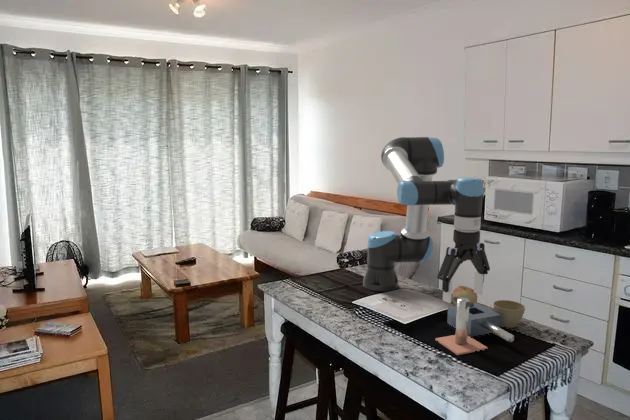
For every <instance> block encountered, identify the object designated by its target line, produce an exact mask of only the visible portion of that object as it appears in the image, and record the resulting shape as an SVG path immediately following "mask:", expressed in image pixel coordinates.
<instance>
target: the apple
mask: <svg viewBox="0 0 630 420" xmlns="http://www.w3.org/2000/svg"><path fill="white" fill-rule="evenodd" d="M455 296H457V297H459V298H467V299H469V300H470V302H472V303H478V294H477V293H474V288H471V287H468V286H465V285H459V286H457V287H455V288H454V290H452V297H451V299H453V297H455ZM452 301H453V300H452ZM453 304H454V306H457V302H455V301H453Z"/></svg>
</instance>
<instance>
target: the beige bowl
mask: <svg viewBox="0 0 630 420" xmlns="http://www.w3.org/2000/svg"><path fill="white" fill-rule="evenodd" d="M493 311H494V312H496V313H498V314H500V315H501V325H500V326H502V327H505V328H511V329H512V328H516V326H517V325H518V324H519V323H520V322H521V321H522V318H523V316H524V314H525V311H526V306H525V305H524V304H523V303H521V302H518V301H515V300H507V299H500V300H495V301H494V302H493Z"/></svg>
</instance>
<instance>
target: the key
mask: <svg viewBox="0 0 630 420" xmlns="http://www.w3.org/2000/svg"><path fill="white" fill-rule="evenodd" d="M452 301H455V302H457V314H456V329H455V334H454V335H455V343H456V344H458V345H467V339H468V320H469V307H470V308H472V307H474V303H472V302H470V300H469V299H467V298H459V297H457V296H455V297H453V298H452Z"/></svg>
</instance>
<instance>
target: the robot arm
mask: <svg viewBox="0 0 630 420" xmlns="http://www.w3.org/2000/svg"><path fill="white" fill-rule="evenodd" d="M380 157H381V159H380V160H381V162H382V165H383V166H384V168H386V170H388V171H389V172H391V173H390V174H392V176H393V178H394V180H395V182H396V183H397V187H396V197H397V202H398V203H399V204H400V205H403V206H406V215H405V223H404V224H405V225H404V227H402V228H401V230H400V234H399V235H398V234H396V232H395V231H393V230H392V231H391V230H389V231H388V230H384V231H376V232H374V233H371V234H370V235H369V236H368V238H367V245H366V246H367V266H366V267H367V268H366V270H365V274H364V276H363V280H362V287H363V288H365V289H367V290H369V291H374V292H391V290H392V291H395V290H397V289H398V288H399V279H398V277H397V273H396V269H395V266H396V265H395V264H396V263H423V262H427V261H428V260H429V259H430V258H431V256H432V254H433V242H434V241H433V238H432V236H431V235H430V233H429V231H428V230H427V223H428V216H429V215H428V214H429V206H431V205H432V206H433V205H434V206H438V205H440V206H441V205H442V206H449V205H451V206H452V205H453V206H454V216H453V217H454V220H453V228H454V229H453V236H452V238H453V239H452V240H453V242H454V244H455V245H454V247H449V246H448V247H447V248H446V250H445V256H444V257H443V261H442V264H441V266H440V268H439V271H438V274H437V276H436V279H437V280H440V281H442V284H441V285H442V286H441V287H442V288H441V290H442V301H444V302H446V303H448V304H451V303H452V296H453V281H452V278H453V277H454V276H455V273H456V272H457V270H459V267H460V266H461V264H463V263H464V262H467V261H470V262H471V263H472V265H473V267H474V268H475V270H476V272H474V281H473V282H474V286H473V290H474V293H476V294H477V295H480V296H482V295H483V288H484V282H485V275H488V273H489V272H490V270H491V269H490V268H491V267H490V264H489V261H488V257H487V254H486V250H485V247H486V246H485V243H483V242H480V241H481V240H480V239H481V231H480V230H481V221H482V211H483V210H482V208H483V199H484V197H483V196H484V181H483V180H482V178H480V177H474V176H473V177H471V176H470V177H469V176H468V177H466V176H465V177H464V176H463V177H459V178H458V179H448V180H433V176H435V175H436V174H437V172H438V168H441V167H443V165H444V162H445V151H444V146H443V144H442V141H441V139H439V138H437V137H429V136H425V137H424V136H421V137H420V136H417V137H414V136H413V137H406V136H405V137H404V136H403V137H402V136H401V137H397V138H394V139H392V140H390V141H389V142H388V143H387V144H385V146H384V147H383V149H382V151H381V155H380Z"/></svg>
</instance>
